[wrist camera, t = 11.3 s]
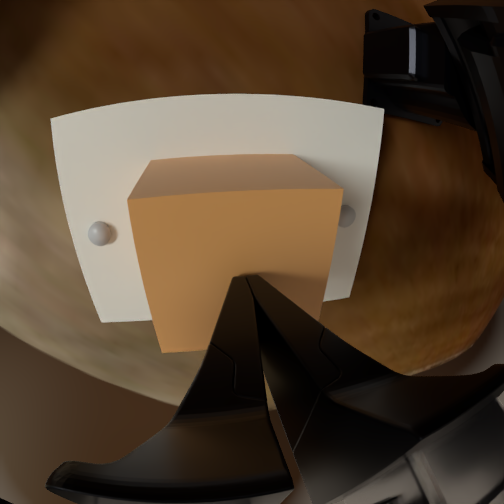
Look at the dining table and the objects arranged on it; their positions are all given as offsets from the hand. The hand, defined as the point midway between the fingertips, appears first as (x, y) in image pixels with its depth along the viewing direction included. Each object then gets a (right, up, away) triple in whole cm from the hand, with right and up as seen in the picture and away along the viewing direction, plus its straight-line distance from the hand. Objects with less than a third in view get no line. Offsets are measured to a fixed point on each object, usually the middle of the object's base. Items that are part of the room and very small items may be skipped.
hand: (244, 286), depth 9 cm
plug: (-1, +4, +6) cm, 7 cm away
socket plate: (-1, +4, +6) cm, 7 cm away
